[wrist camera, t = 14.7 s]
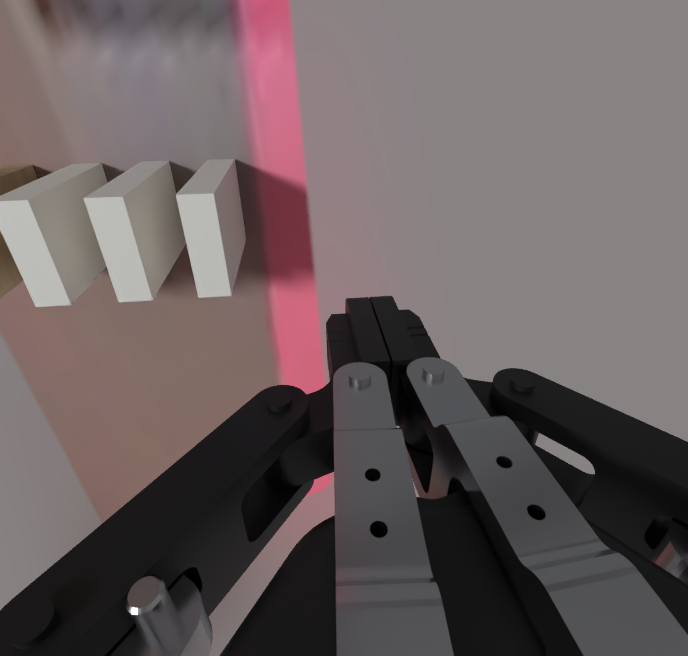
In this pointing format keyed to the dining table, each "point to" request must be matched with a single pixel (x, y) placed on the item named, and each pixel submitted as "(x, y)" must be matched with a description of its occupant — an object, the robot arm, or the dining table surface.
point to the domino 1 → (3, 270)
